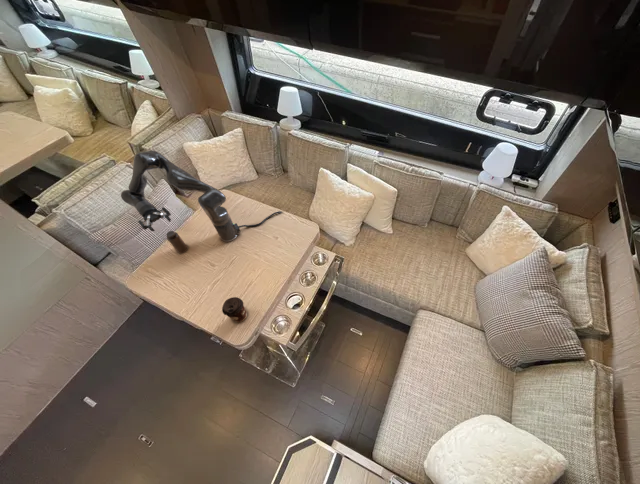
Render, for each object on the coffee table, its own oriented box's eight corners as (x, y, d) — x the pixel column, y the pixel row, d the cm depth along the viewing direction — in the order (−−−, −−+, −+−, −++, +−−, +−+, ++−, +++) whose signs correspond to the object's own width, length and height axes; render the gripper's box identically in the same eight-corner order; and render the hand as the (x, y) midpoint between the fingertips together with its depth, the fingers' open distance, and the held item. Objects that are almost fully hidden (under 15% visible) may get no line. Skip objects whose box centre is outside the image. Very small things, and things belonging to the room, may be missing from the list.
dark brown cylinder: (238, 328, 124) (229, 318, 114) (226, 318, 127) (216, 307, 117) (253, 312, 129) (245, 301, 119) (240, 303, 132) (232, 291, 122)
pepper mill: (186, 243, 152) (174, 228, 142) (188, 250, 150) (177, 234, 139) (176, 247, 150) (163, 232, 140) (178, 254, 148) (165, 239, 137)
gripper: (129, 212, 145) (143, 228, 139) (156, 198, 152) (171, 213, 146) (137, 221, 151) (151, 237, 145) (163, 207, 158) (177, 221, 152)
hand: (161, 225), depth 145 cm, fingers open, 8 cm apart
